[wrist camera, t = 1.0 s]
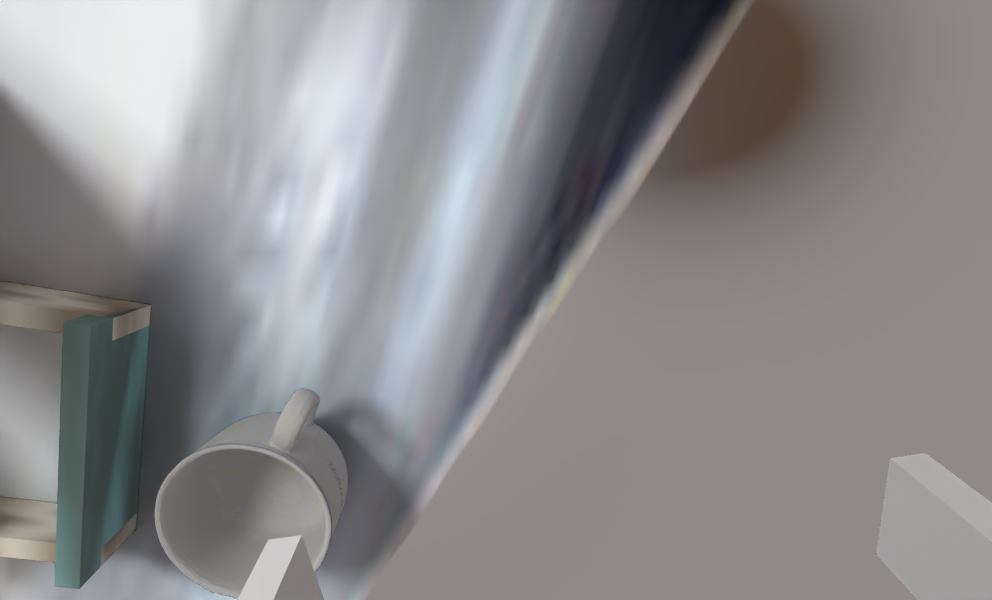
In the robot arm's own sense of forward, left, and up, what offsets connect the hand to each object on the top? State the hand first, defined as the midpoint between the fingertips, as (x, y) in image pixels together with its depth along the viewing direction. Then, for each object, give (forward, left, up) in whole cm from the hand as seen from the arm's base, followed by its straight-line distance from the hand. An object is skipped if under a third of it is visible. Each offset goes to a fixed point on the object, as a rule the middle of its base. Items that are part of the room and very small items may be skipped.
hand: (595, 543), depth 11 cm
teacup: (+2, -19, -27) cm, 33 cm away
